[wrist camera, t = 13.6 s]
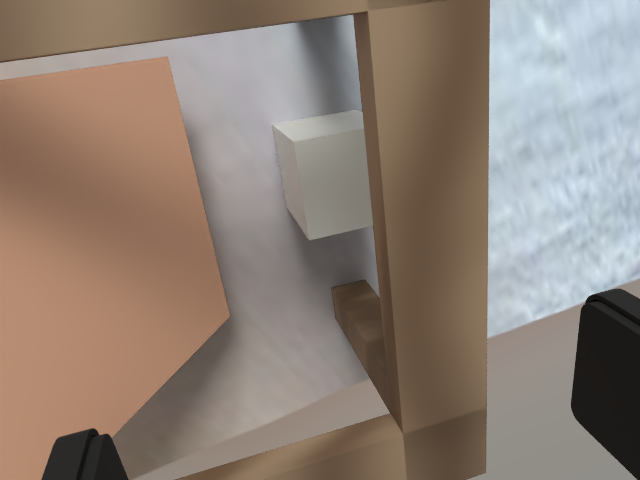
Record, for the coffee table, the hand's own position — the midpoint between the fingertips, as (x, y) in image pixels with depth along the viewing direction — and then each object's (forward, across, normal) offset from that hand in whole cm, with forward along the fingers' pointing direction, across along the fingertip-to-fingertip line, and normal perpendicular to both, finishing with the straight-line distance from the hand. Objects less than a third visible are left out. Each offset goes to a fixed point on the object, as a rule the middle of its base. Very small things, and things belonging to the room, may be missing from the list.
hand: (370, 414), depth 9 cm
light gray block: (+15, -4, 0) cm, 16 cm away
